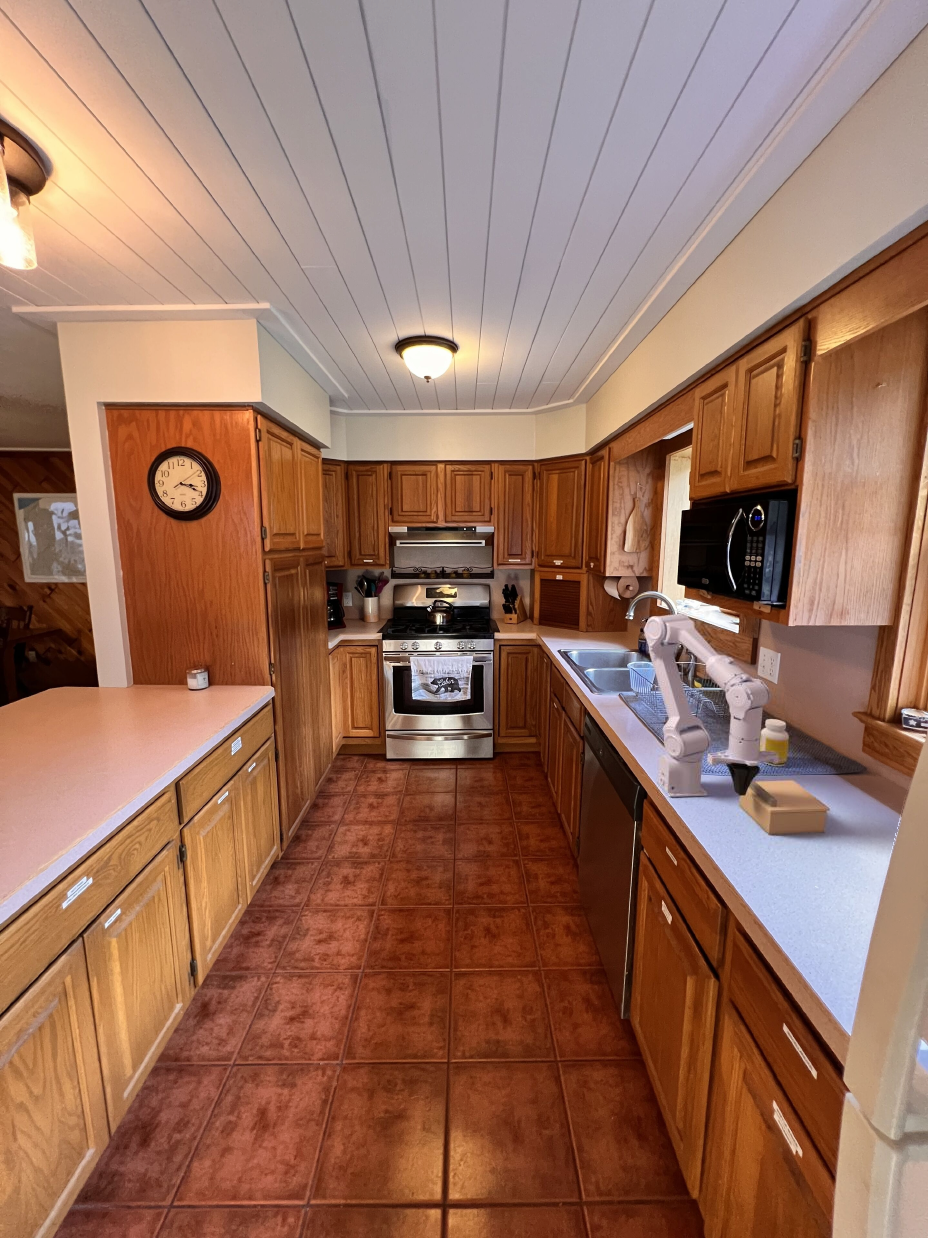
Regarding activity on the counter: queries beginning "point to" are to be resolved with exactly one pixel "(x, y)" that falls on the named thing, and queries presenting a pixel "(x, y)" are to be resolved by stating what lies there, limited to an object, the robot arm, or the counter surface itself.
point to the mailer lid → (784, 797)
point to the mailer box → (783, 819)
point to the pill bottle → (775, 740)
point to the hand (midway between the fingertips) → (739, 793)
